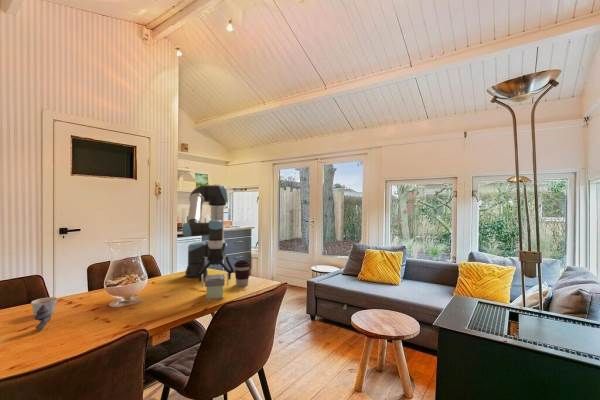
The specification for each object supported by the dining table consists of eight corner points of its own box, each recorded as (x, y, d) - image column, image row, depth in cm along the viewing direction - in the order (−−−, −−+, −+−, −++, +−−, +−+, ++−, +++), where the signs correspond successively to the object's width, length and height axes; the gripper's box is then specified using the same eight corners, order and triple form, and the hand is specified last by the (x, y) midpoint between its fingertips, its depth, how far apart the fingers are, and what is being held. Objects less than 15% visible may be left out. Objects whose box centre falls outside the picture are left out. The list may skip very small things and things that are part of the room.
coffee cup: (248, 287, 181) (248, 262, 181) (232, 286, 181) (232, 262, 181) (251, 282, 191) (251, 259, 191) (236, 282, 191) (236, 259, 191)
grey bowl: (60, 312, 137) (60, 299, 137) (35, 319, 129) (36, 304, 129) (52, 309, 141) (52, 296, 141) (27, 315, 133) (27, 301, 134)
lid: (206, 282, 169) (206, 274, 169) (224, 281, 171) (224, 273, 171) (204, 288, 156) (205, 280, 156) (224, 287, 159) (224, 279, 159)
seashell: (33, 329, 119) (34, 304, 119) (51, 325, 123) (51, 301, 123) (34, 333, 115) (35, 307, 115) (52, 329, 119) (53, 304, 119)
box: (207, 293, 168) (207, 280, 168) (222, 292, 170) (222, 279, 171) (206, 299, 157) (206, 286, 157) (222, 298, 159) (222, 285, 159)
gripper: (191, 249, 157) (190, 289, 157) (238, 248, 163) (238, 286, 163) (192, 247, 164) (192, 285, 164) (238, 246, 171) (237, 282, 170)
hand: (215, 286), depth 164 cm, fingers open, 13 cm apart
